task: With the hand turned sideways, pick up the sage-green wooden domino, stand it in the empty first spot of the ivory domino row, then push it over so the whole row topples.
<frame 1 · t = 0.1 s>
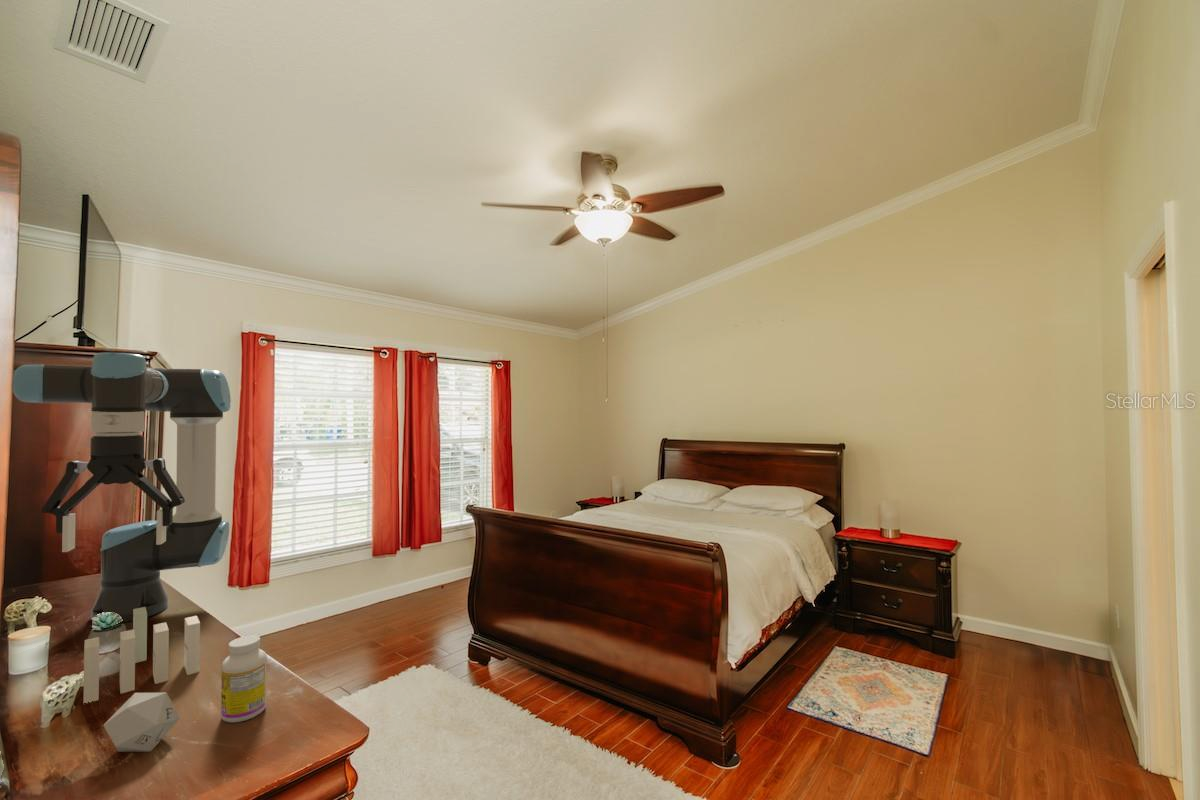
hand: (116, 546, 99), 28 cm above the table, tool pointing down, fingers open, 13 cm apart
domino 2: (191, 668, 109), on the table
domino 5: (91, 696, 99), on the table
die: (142, 746, 84), on the table
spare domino: (139, 657, 114), on the table
supplement bottle: (244, 714, 93), on the table
domino 4: (126, 686, 102), on the table
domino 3: (160, 677, 105), on the table
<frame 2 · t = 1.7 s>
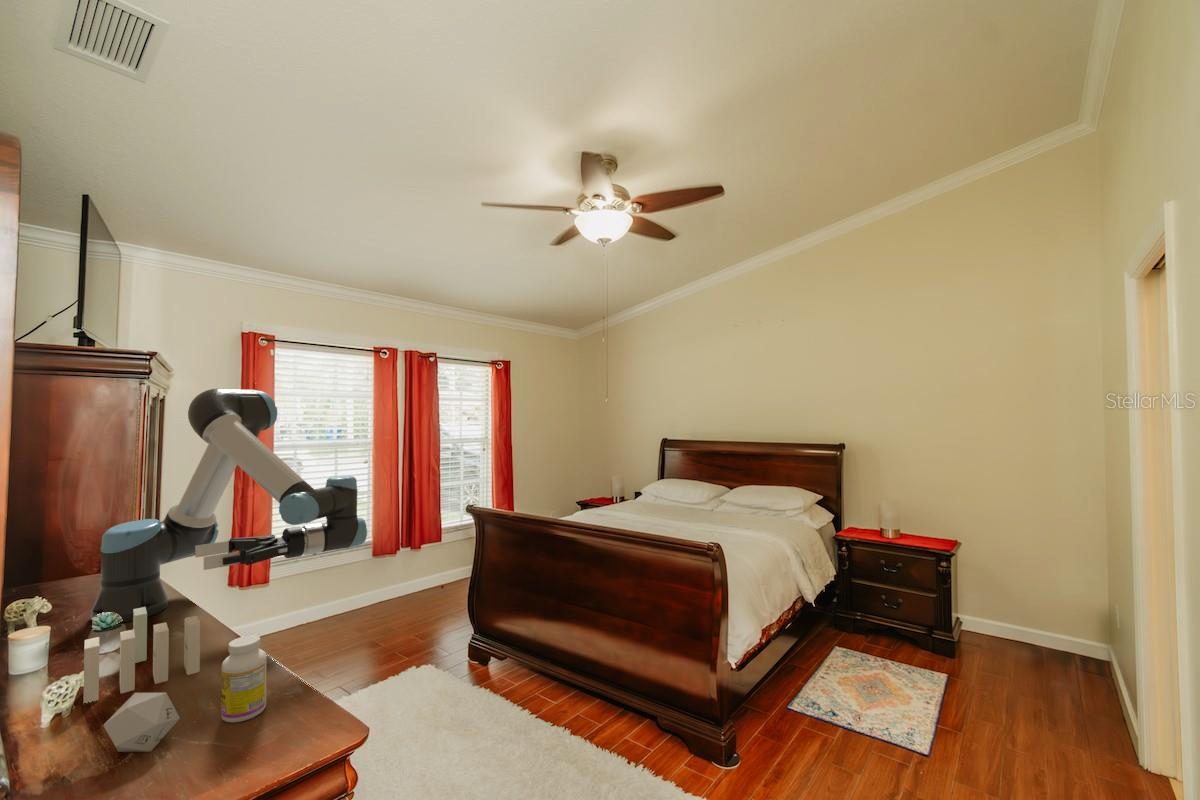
hand: (199, 557, 121), 20 cm above the table, tool horizontal, fingers open, 13 cm apart
nothing on the table moved.
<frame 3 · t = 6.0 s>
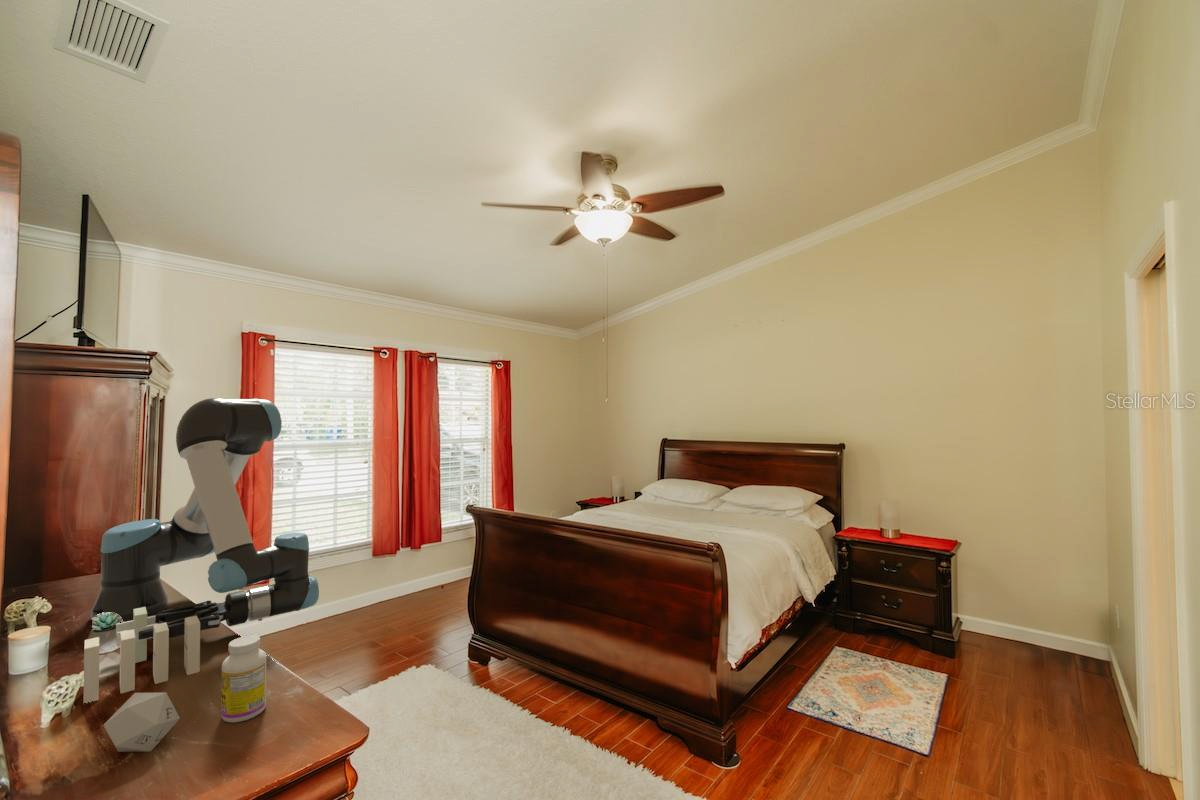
hand: (116, 634, 111), 6 cm above the table, tool horizontal, fingers closed on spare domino, 5 cm apart
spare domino: (139, 657, 114), on the table, touching gripper
everything else where it was.
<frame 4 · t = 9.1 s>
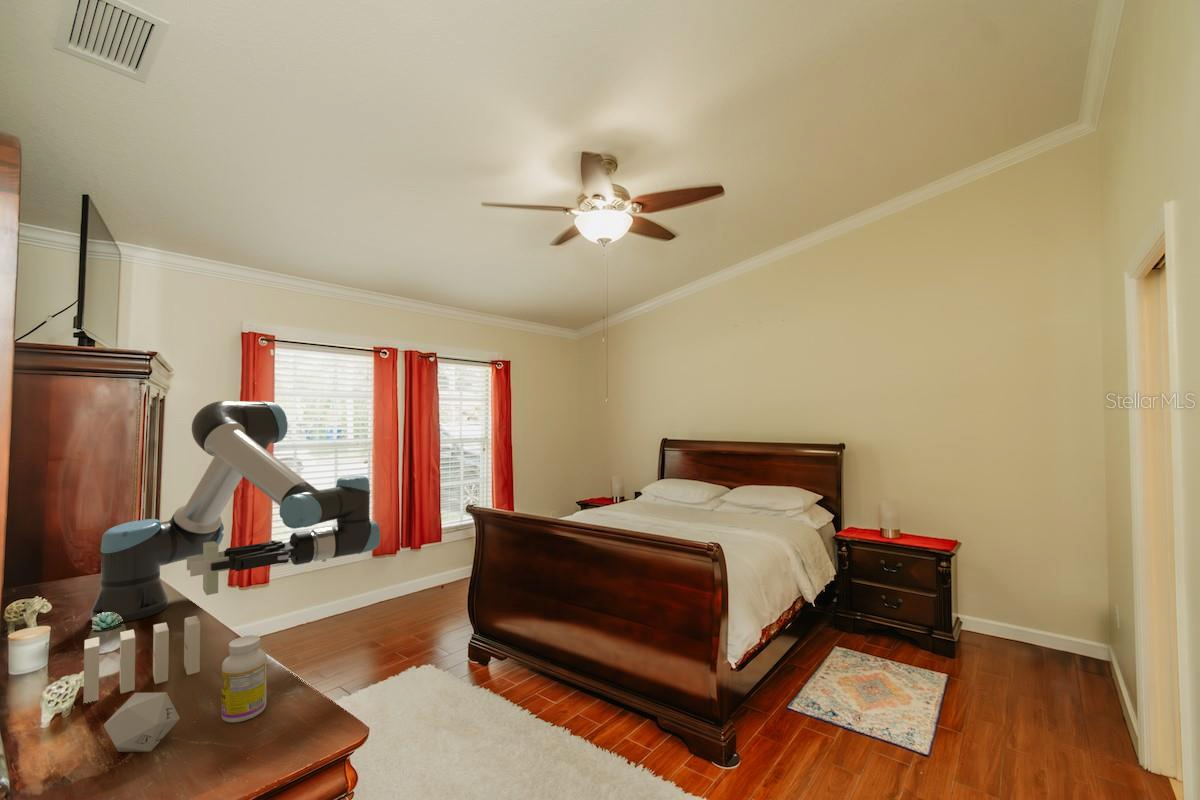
hand: (188, 566, 110), 21 cm above the table, tool horizontal, fingers closed on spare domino, 5 cm apart
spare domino: (210, 591, 112), point 15 cm above the table, touching gripper
everything else where it was.
when the fingers open (7 cm above the table, at t = 12.1 s): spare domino drops 1 cm, on the table.
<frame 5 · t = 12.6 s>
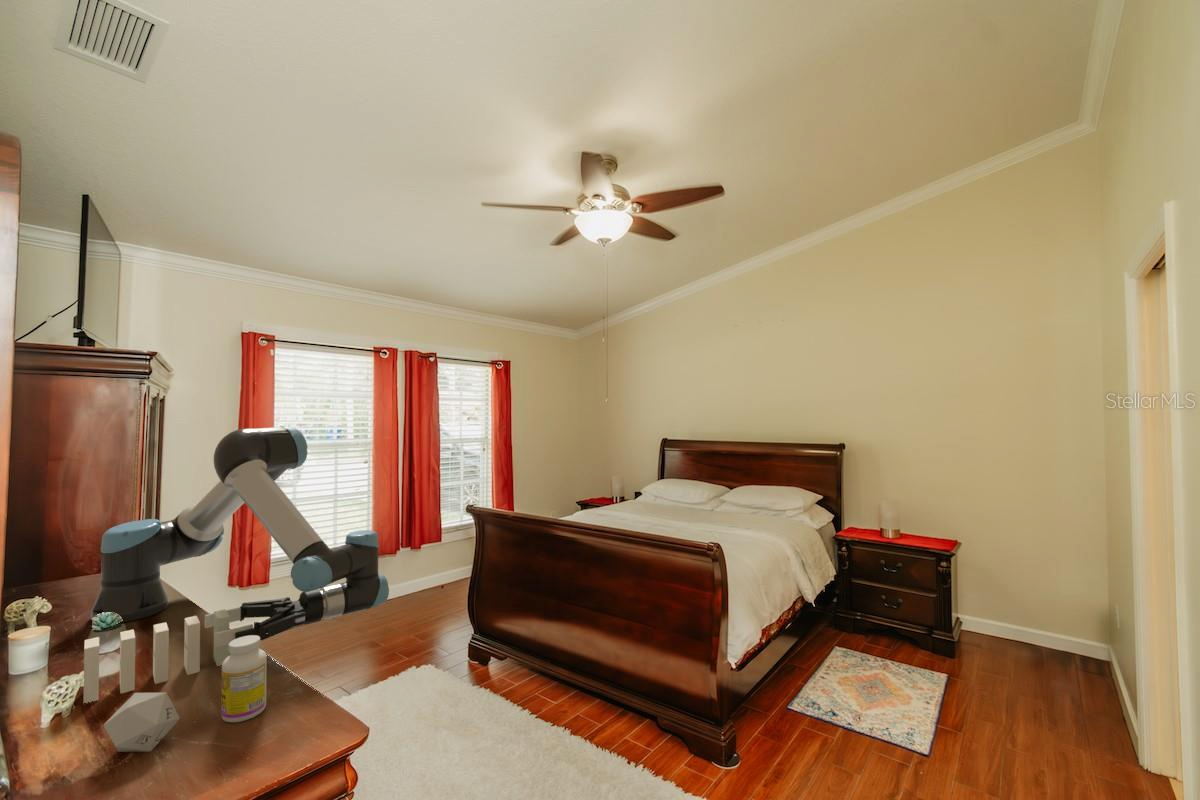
hand: (209, 630, 111), 7 cm above the table, tool horizontal, fingers open, 12 cm apart
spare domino: (221, 660, 112), on the table
everything else where it was.
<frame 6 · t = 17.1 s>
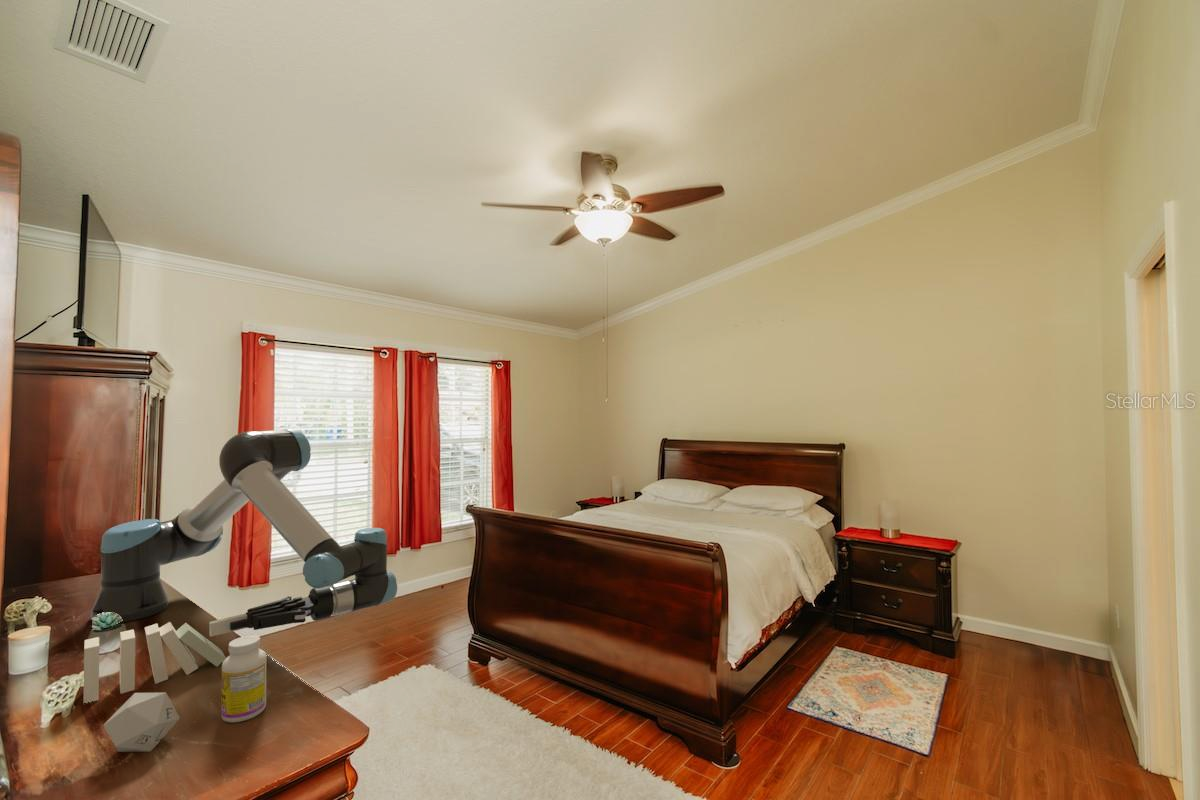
hand: (210, 629, 111), 7 cm above the table, tool horizontal, fingers closed
domino 2: (190, 667, 109), on the table, tilted 25°
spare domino: (219, 658, 112), point 1 cm above the table, tilted 39°
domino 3: (160, 676, 106), on the table, tilted 8°
everything else where it was.
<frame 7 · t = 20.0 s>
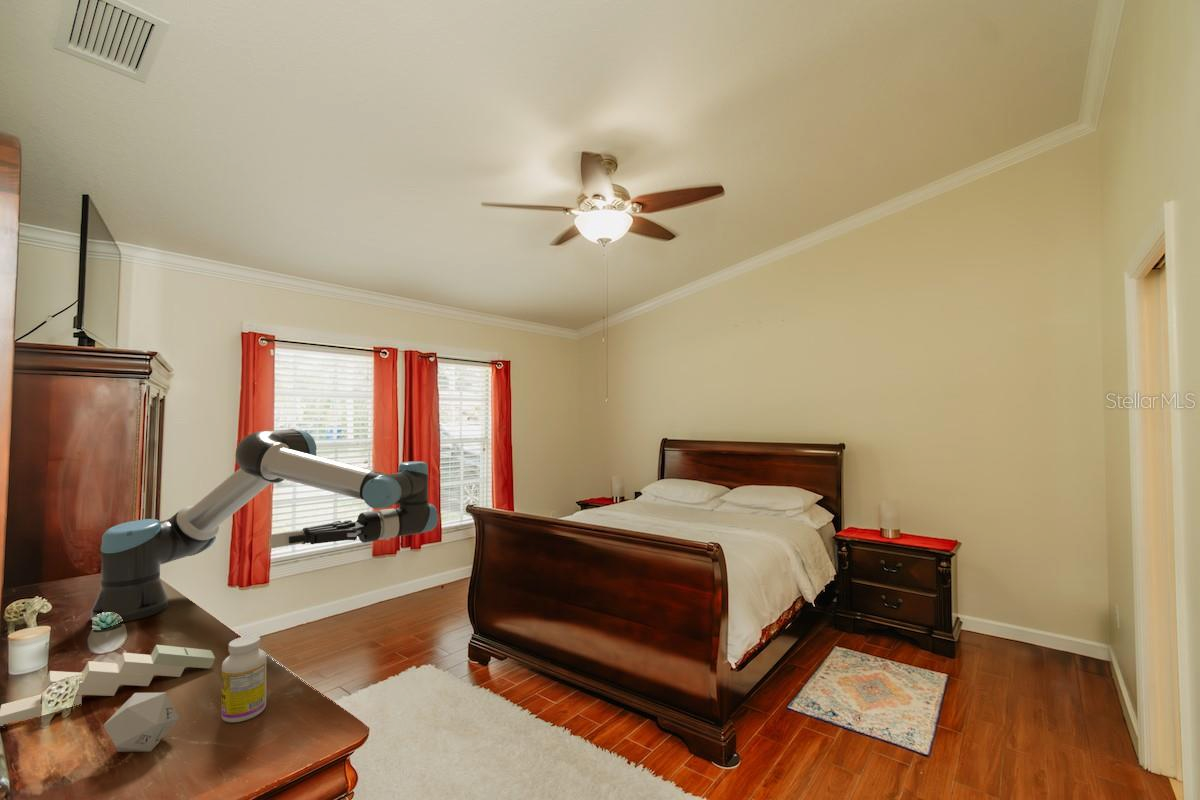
hand: (271, 541, 119), 24 cm above the table, tool horizontal, fingers closed
domino 2: (180, 667, 108), point 1 cm above the table, tilted 66°, touching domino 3, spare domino
domino 5: (81, 694, 98), point 1 cm above the table, tilted 90°, touching domino 4
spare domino: (210, 659, 111), point 1 cm above the table, tilted 66°, touching domino 2
domino 4: (115, 684, 101), point 1 cm above the table, tilted 66°, touching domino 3, domino 5
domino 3: (149, 675, 104), point 1 cm above the table, tilted 66°, touching domino 2, domino 4
everything else where it was.
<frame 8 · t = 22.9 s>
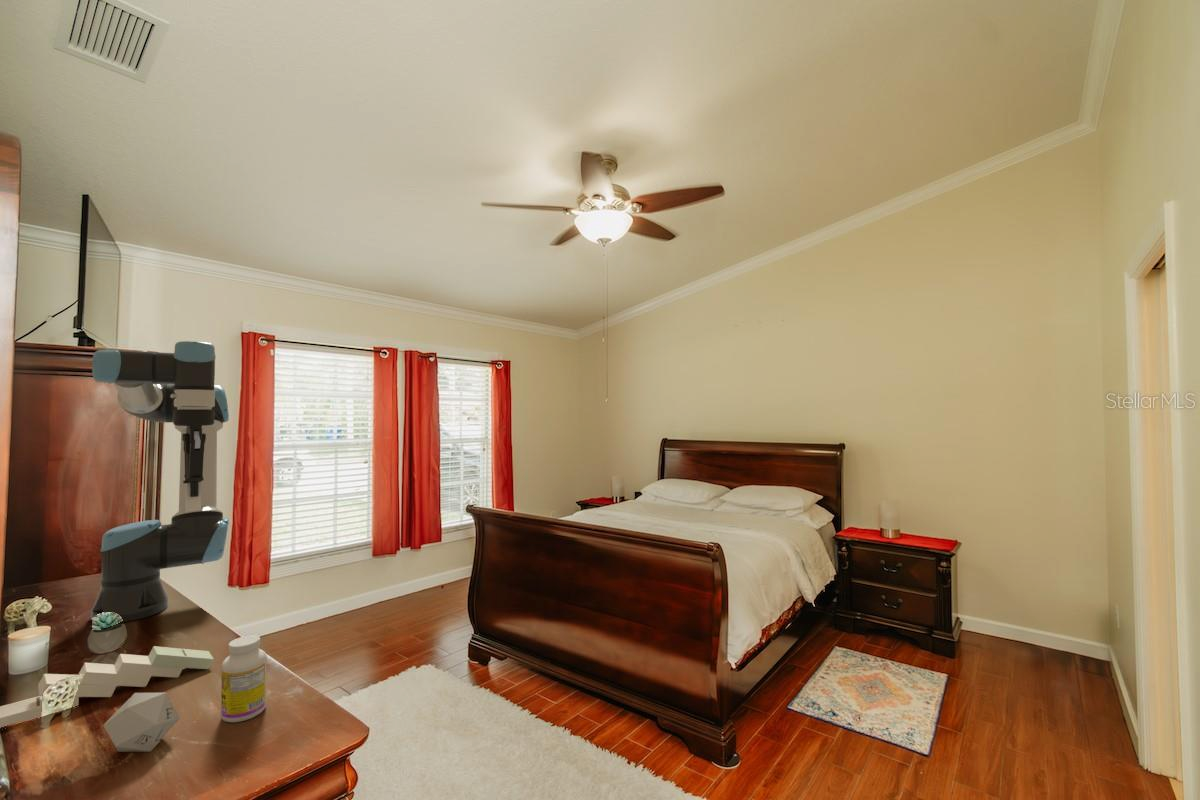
hand: (193, 510, 121), 30 cm above the table, tool pointing down, fingers closed
domino 4: (111, 686, 100), point 1 cm above the table, tilted 67°, touching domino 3, domino 5
at the end: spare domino moved 17.5 cm from its start; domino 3 tilted 66°; domino 5 tilted 90° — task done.
